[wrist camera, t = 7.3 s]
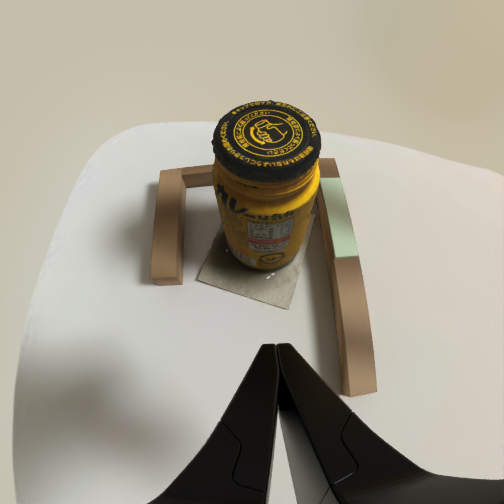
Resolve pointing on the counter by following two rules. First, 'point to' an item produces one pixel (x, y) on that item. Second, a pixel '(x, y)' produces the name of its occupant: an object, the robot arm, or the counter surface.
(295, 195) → the condiment
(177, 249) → the rail bay
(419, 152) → the counter surface
